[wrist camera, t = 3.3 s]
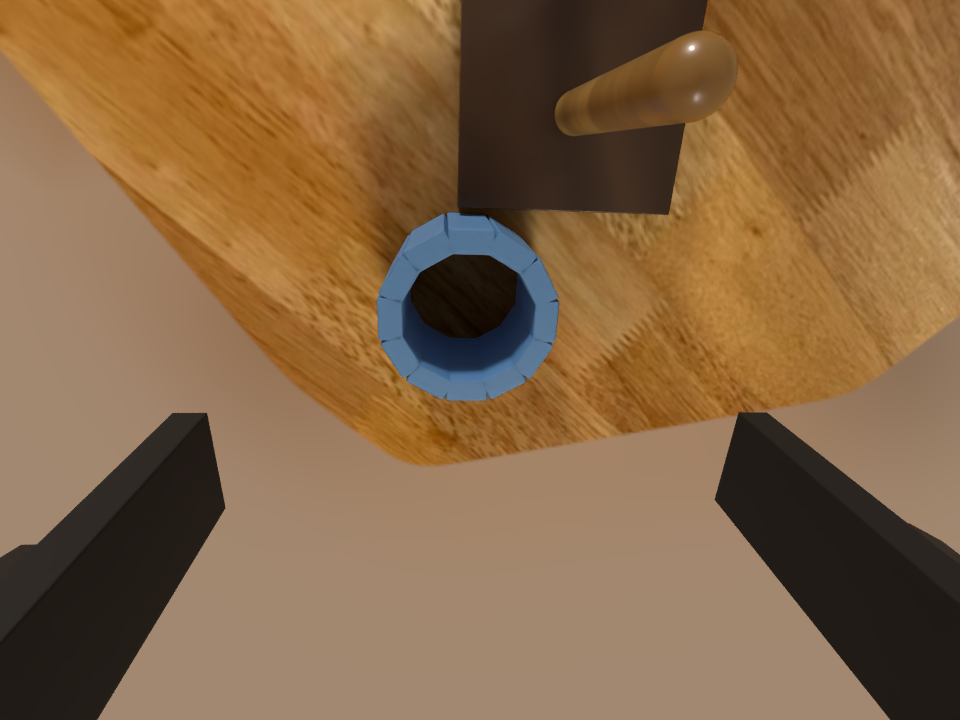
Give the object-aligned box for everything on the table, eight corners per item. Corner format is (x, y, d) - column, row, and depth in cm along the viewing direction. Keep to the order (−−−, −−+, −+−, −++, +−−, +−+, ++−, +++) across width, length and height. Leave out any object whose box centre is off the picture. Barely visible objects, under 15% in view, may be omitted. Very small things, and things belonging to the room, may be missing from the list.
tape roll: (541, 215, 27) (567, 231, 21) (529, 355, 30) (549, 401, 24) (388, 210, 26) (373, 225, 20) (392, 354, 29) (381, 401, 24)
